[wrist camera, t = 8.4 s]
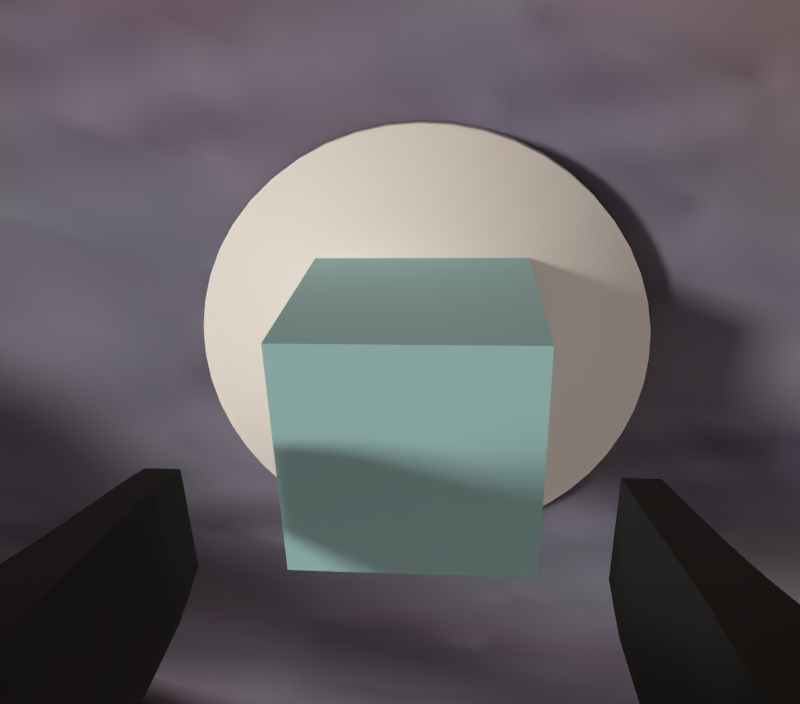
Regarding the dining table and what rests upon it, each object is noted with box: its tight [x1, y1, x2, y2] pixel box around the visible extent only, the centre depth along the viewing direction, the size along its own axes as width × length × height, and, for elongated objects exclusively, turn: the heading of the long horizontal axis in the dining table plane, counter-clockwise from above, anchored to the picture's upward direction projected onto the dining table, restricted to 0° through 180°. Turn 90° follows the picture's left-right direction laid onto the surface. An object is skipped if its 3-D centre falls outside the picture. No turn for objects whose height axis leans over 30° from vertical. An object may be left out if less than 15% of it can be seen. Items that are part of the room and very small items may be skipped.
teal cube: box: [261, 258, 554, 579], centre depth 15 cm, size 5×5×5 cm
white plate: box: [204, 120, 651, 506], centre depth 18 cm, size 11×11×1 cm
